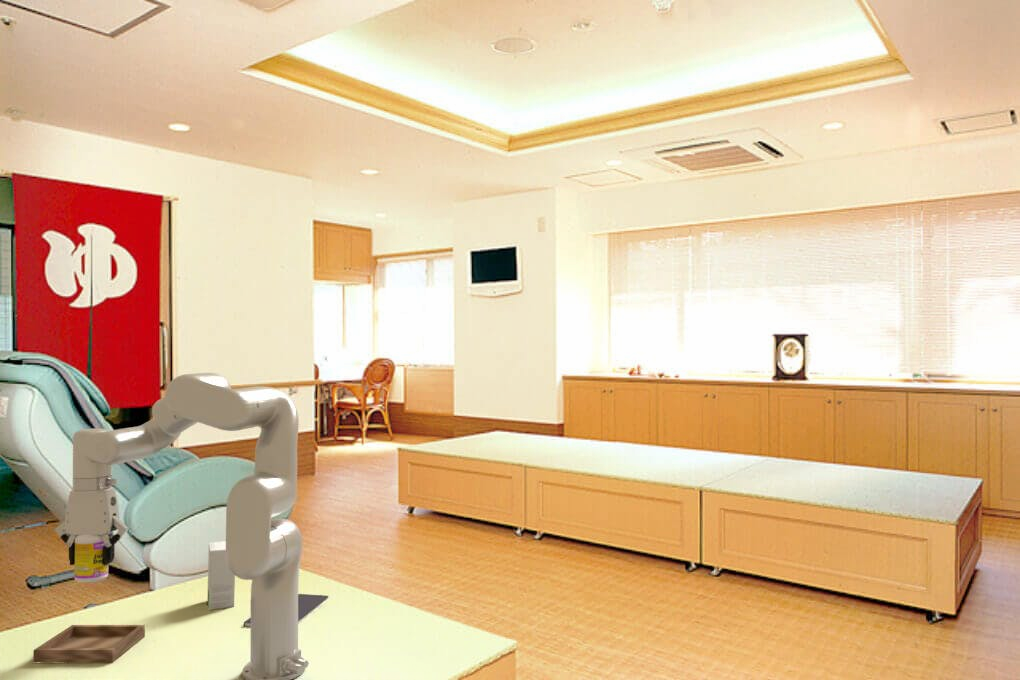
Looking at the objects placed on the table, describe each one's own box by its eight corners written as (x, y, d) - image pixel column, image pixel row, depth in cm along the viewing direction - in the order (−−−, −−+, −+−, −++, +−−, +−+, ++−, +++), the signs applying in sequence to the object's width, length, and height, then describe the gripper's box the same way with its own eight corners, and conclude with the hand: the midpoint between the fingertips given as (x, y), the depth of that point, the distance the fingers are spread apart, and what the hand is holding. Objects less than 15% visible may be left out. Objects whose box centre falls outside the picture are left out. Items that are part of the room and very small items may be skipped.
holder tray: (144, 636, 171) (144, 624, 171) (112, 662, 157) (112, 649, 157) (72, 637, 171) (72, 625, 171) (33, 663, 157) (33, 650, 157)
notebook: (285, 598, 198) (243, 628, 177) (285, 592, 198) (243, 622, 177) (329, 601, 196) (292, 632, 175) (329, 595, 196) (292, 625, 175)
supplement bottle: (93, 584, 160) (93, 526, 160) (67, 582, 161) (67, 524, 161) (115, 575, 167) (115, 519, 167) (90, 573, 168) (90, 517, 168)
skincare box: (207, 600, 195) (207, 542, 195) (233, 596, 198) (233, 539, 198) (208, 610, 188) (208, 550, 188) (236, 606, 190) (236, 547, 190)
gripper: (139, 480, 168) (138, 558, 168) (63, 480, 168) (63, 558, 168) (121, 487, 160) (121, 568, 160) (42, 487, 160) (42, 568, 160)
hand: (91, 562), depth 164 cm, fingers closed on supplement bottle, 6 cm apart
